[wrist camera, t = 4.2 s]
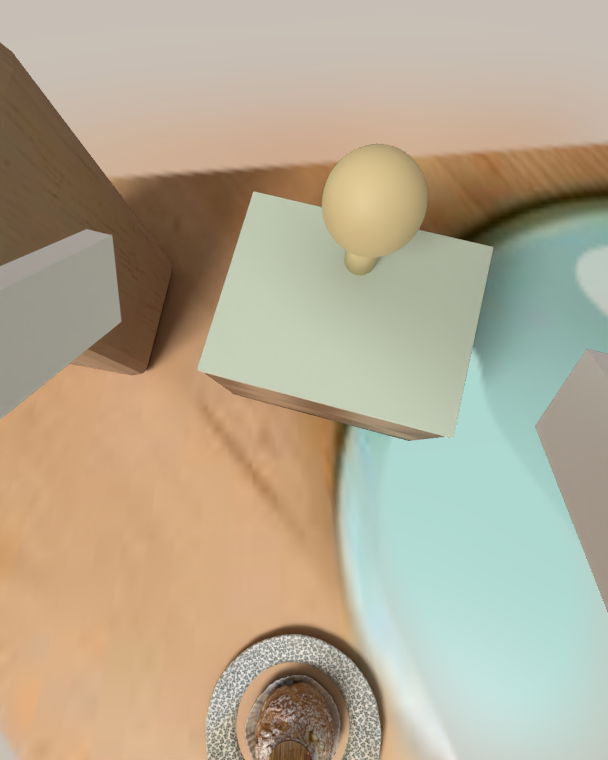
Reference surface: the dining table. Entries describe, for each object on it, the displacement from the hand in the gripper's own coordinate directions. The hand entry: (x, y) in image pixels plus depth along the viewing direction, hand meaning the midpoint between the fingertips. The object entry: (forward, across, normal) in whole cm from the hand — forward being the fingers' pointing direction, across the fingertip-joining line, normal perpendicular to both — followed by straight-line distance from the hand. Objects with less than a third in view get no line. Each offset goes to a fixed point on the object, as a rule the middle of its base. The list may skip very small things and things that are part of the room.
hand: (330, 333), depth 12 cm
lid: (+12, 0, +5) cm, 13 cm away
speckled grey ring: (0, -4, +31) cm, 31 cm away
